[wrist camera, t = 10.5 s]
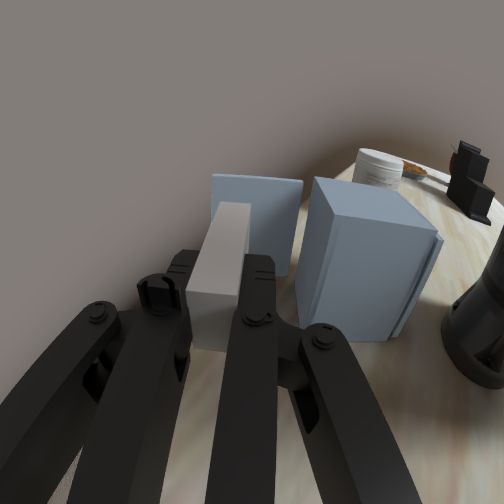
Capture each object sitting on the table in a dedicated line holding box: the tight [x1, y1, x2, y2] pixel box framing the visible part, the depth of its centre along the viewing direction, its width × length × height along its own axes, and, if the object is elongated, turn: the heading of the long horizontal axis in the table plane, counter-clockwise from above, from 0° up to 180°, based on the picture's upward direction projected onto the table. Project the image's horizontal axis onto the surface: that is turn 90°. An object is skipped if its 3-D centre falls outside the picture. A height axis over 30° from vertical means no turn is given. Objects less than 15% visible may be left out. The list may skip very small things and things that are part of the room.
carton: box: [294, 177, 444, 342], centre depth 28 cm, size 11×10×14 cm
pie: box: [402, 160, 427, 180], centre depth 109 cm, size 22×22×5 cm
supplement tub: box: [352, 149, 404, 192], centre depth 51 cm, size 10×10×15 cm
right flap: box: [211, 174, 303, 277], centre depth 33 cm, size 10×1×12 cm, turn 92°
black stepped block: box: [446, 141, 495, 226], centre depth 73 cm, size 23×11×24 cm, turn 166°
